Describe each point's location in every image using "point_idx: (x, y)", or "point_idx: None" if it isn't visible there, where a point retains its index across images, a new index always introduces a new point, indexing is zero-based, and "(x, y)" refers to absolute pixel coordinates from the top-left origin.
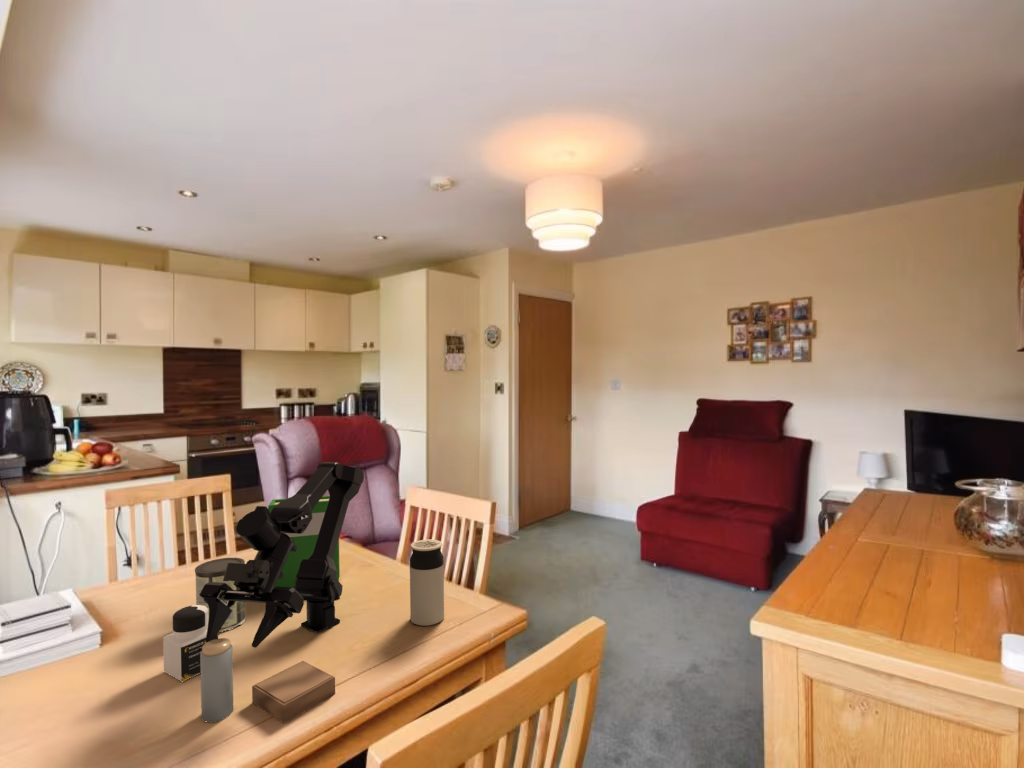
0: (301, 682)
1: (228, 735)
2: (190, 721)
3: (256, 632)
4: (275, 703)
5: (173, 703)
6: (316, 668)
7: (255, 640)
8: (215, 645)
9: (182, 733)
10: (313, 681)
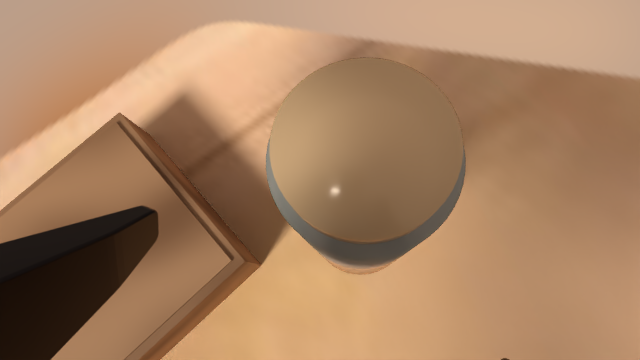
0: None
1: None
2: None
3: (83, 243)
4: (153, 150)
5: (554, 332)
6: None
7: (116, 212)
8: (364, 127)
9: None
10: (23, 233)
